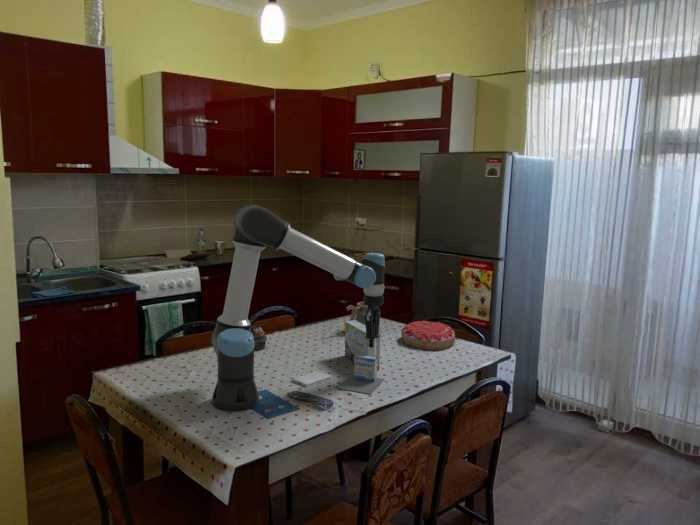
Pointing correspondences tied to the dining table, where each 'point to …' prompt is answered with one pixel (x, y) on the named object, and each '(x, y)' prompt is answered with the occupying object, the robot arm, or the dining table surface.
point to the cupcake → (258, 337)
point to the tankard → (359, 312)
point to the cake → (428, 335)
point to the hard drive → (311, 378)
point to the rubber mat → (359, 385)
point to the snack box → (358, 341)
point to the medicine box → (365, 368)
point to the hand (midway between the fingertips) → (371, 354)
